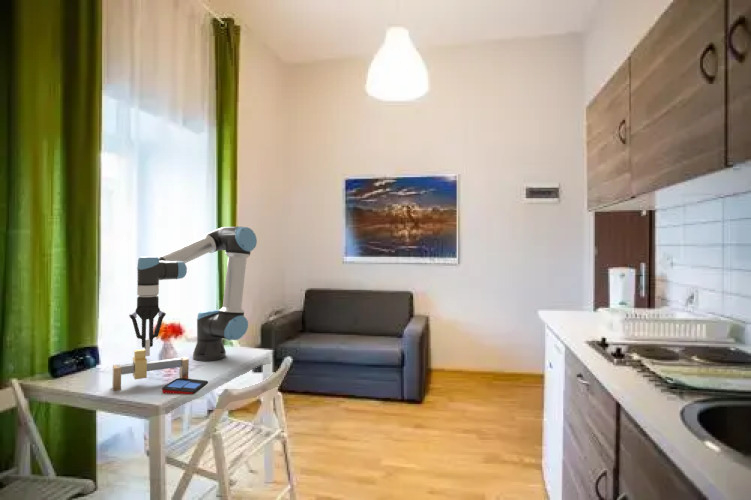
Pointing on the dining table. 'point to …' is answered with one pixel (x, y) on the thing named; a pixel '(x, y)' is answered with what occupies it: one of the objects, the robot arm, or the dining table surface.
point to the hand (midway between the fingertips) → (147, 355)
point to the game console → (184, 386)
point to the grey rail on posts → (150, 369)
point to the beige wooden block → (140, 364)
